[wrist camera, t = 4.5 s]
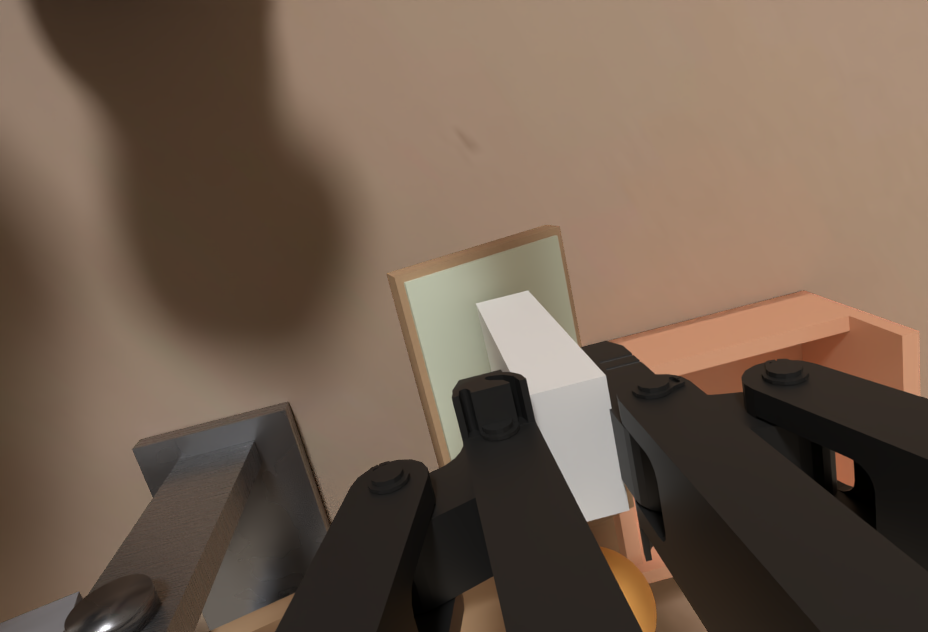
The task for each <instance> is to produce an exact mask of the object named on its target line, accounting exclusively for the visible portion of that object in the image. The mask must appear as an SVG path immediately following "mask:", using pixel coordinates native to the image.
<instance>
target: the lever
mask: <svg viewBox="0 0 928 632" xmlns="http://www.w3.org/2000/svg"><path fill="white" fill-rule="evenodd" d="M387 277H388V281H389V285H390V288H391V292H392V296H393V299H394V303H395V307H396V310H397V314H398V318H399V321H400V325H401V329H402V333H403V336H404V340H405V344H406V347H407V351H408V355H409V358H410V362H411V366H412V369H413V373H414V377H415V381H416V384H417V388H418V392H419V395H420V399H421V403H422V406H423V410H424V414H425V417H426V421H427V425H428V429H429V432H430V436H431V440H432V443H433V447H434V451H435V454H436V458H437V462H438V465H439V468H441V467H443V466H445V465H446V464H448V463H449V462H450V461H452V460H453V459H454V458H455V457H456V456H457V455H458V454H459V453H460V452H461V449H462V447H463V441H462V437H461V433H460V429H459V425H458V421H457V417H456V413H455V409H454V406H453V402H452V394H453V393H452V390H453V389H454V387H455V385H456V384H457V382H458V381H459V380H461V379H465V378H469V377H473V376H477V375H481V374H485V373H489V372H491V367H490V363H489V359H488V354H487V350H486V346H485V342H484V337H483V333H482V329H481V324H480V320H479V316H478V311H477V307H476V303H480V302H484V301H488V300H492V299H496V298H500V297H504V296H508V295H512V294H516V293H520V292H524V291H529V292H530V293H531V294H532V295H533V296H534V297H535V298H536V300H537V301H538V302H539V303H540V304H541V305H542V306H543V307H544V308H545V309H546V311H547V312H548V313H549V314H550V315H551V316H552V317H553V318H554V319H555V320H556V321H557V323H558V324H559V325H560V326H561V327H562V328H563V329H564V330H565V331H566V332H567V333H568V335H569V336H570V337H571V338H572V339H573V340H574V341H575V342H576V343H577V344H578V346H579V347H582V345H581V340H580V334H579V329H578V323H577V318H576V313H575V307H574V302H573V296H572V291H571V285H570V280H569V275H568V269H567V264H566V258H565V253H564V247H563V242H562V237H561V231H560V226H551V225H544V226H541V227H537V228H534V229H531V230H528V231H524V232H521V233H518V234H514V235H511V236H508V237H505V238H501V239H498V240H495V241H491V242H488V243H485V244H482V245H478V246H475V247H472V248H469V249H465V250H462V251H459V252H455V253H452V254H449V255H446V256H442V257H439V258H436V259H432V260H429V261H426V262H423V263H419V264H416V265H413V266H409V267H406V268H403V269H400V270H396V271H393V272H390V273H387ZM625 487H626V493H627V498H628V504H629V509H630V508H632V507H634V502H633V496H632V494H631V492H630V491H629V489H628V488H627V486H626V485H625ZM618 514H620V513H618ZM618 514H614V515H610V516H607V517H603V518H599V519H595V520H592V521H588V522H587V523H588V525H589V527H590V529H591V531H592V533H593V535H594V537H595V539H596V541H597V543H598V545H599V547H604V548H608V549H611V550H614V551H616V552H618V553H620V551H619V546H618V541H617V535H616V530H615V524H614V519H613V517H614V516H616V515H618ZM294 594H295V593H294ZM294 594H291V595H289V596H287V597H285V598H282V599H280V600H278V601H276V602H273V603H271V604H269V605H267V606H265V607H262V608H260V609H258V610H256V611H253V612H251V613H249V614H247V615H244V616H242V617H240V618H238V619H236V620H233V621H231V622H229V623H227V624H224V625H222V626H220V627H218V628H216V629H213V630H211V631H209V632H275V631H276V629H277V627H278V625H279V623H280V621H281V619H282V617H283V615H284V613H285V611H286V610H287V608H288V606H289V604H290V602H291V600H292V598H293V596H294ZM462 594H463V598H464V614H463V620H462V626H461V632H506V629H505V625H504V620H503V616H502V611H501V607H500V603H499V598H498V594H497V590H496V585H495V581H494V576H493V577H491V578H489V579H488V580H486V581H484V582H482V583H480V584H479V585H477V586H475V587H473V588H471V589H469V590H468V591H466V592H464V593H462ZM82 599H83V598H82V596H81V594H80V592H76V593H74V594H71V595H69V596H66V597H64V598H62V599H59V600H57V601H54V602H52V603H49V604H47V605H44V606H42V607H39V608H37V609H34V610H32V611H29V612H27V613H24V614H22V615H20V616H17V617H15V618H12V619H10V620H7V621H5V622H2V623H0V632H63V631H64V630H65V628H64V623H65V620H66V618H67V616H68V614H69V613H70V612H71V610H72V609H73V608H74V607H75V606H76V605H77V604H78V603H79V602H80V601H81V600H82Z"/></svg>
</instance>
